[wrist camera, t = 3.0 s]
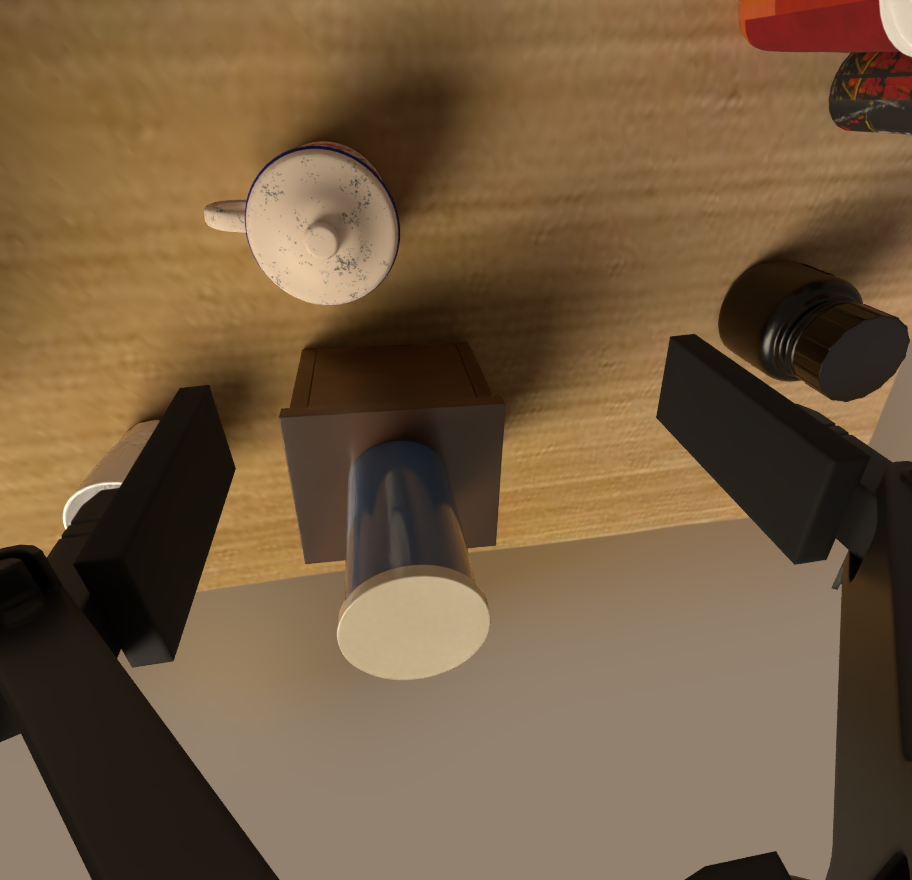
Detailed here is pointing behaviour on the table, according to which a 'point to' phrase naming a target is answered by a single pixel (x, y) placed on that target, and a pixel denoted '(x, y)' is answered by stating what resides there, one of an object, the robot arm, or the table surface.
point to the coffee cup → (828, 25)
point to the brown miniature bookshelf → (390, 432)
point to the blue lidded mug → (407, 568)
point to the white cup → (110, 468)
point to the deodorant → (873, 93)
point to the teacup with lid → (317, 223)
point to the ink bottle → (811, 330)
